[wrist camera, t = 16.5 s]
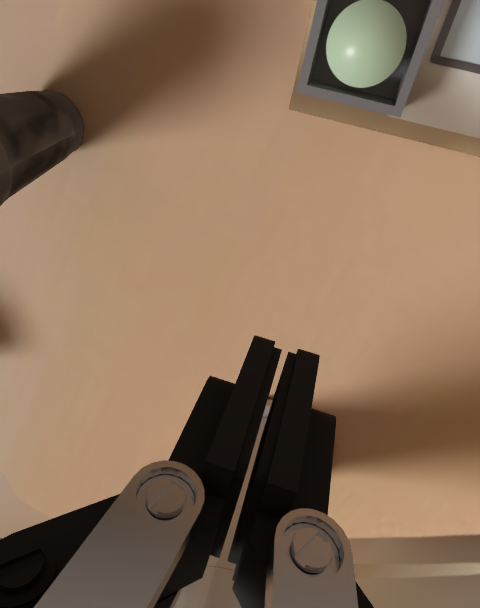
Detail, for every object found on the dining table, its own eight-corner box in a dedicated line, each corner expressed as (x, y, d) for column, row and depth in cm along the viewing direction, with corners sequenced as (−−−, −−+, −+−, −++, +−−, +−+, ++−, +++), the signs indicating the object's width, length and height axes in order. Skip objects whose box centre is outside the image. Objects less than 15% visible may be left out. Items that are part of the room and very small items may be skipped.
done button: (388, 88, 26) (389, 95, 24) (321, 72, 27) (317, 78, 25) (416, 7, 24) (419, 8, 22) (342, -9, 24) (339, -10, 22)
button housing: (398, 109, 27) (400, 117, 25) (302, 85, 28) (296, 92, 26) (442, -11, 24) (448, -13, 21) (330, -35, 24) (326, -38, 22)
